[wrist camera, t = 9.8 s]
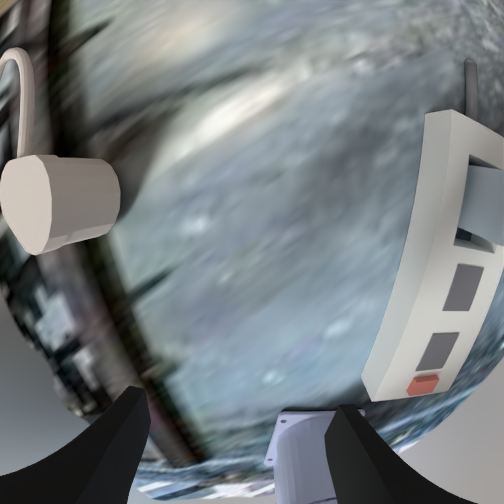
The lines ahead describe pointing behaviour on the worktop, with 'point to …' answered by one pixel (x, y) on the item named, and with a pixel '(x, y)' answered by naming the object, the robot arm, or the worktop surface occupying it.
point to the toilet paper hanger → (53, 185)
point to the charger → (484, 204)
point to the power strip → (439, 264)
